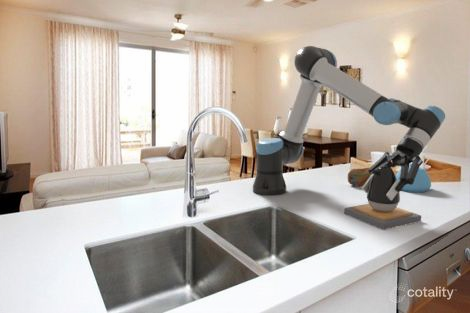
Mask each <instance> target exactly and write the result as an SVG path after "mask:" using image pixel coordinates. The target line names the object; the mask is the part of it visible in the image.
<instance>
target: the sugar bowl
mask: <svg viewBox="0 0 470 313" xmlns="http://www.w3.org/2000/svg"><path fill="white" fill-rule="evenodd" d="M411 165H412V163H410V164H409V169H408V172H409V170H410V167H411ZM400 174H401V168H400V169H399V170H398V172H397V173H396V174H395V176H396V178H397V180H399V181H400V179H399V178H400ZM431 188H432V181H431V178H430V176H429V174H428V172H427V170H426V169H425V168H424V167H421V166H420V167H419V169H418V172H417V175H416V177H415V180H414V183H413V184H412V185H410V184H406V185H405V186H404V187H403V188H402V190H401V191H404V192H408V193H426V192H428V191H429V190H430V189H431Z"/></svg>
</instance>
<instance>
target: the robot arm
mask: <svg viewBox="0 0 470 313" xmlns="http://www.w3.org/2000/svg"><path fill="white" fill-rule="evenodd" d="M337 61H338V60H337V57H336V56H335V54H334V52H332V51H330V50H328V49H326V48H323V47H322V48H321V47H316V46H313V45H307V46H303V47H302V48H300V49H299V50H298V51H297V53H296V54H295V57H294V66H295V69H296V71H297V72H298V73H299V74H300V75H299V77H300V80H301V83H300V86H299V89H298V92H297V94H296V97H295V100H294V103H293V105H292V109H291V111H290V114H289V117H288V119H287V122H286V124H285V128H284V130H283V131H280V133H279V135H278V137H269V138H263V139H260V140H259V141H258V142H257V143H256V149H255V150H256V152H255V153H256V175H255V178H254V181H253V183H252V192H253V193H256V194H257V195H266V196H276V195H277V196H278V195H283V194H285V193H286V192H287V184H286V181H285V178H284V175H283V172H284V171H283V169H284V168H283V167H284V165H285V166H286V165H288V164H289V165H290V164H293V163H296V162H297V161H299V160H300V159H301V158H302V156H303V154H304V152H305V151H304V150H305V149H304V146H303V145H304V138H303V136H304V132H305V129H306V127H307V124H308V122H309V120H310V116H311V114H312V112H313V108H314V106H315V103H316V101H317V98H318V96H319V93H320V91H321V88H322V87H324V86H325V87H327V88H328V89H330V90H331V91H333V92H334V93H336V94H337V95H338V96H340V97H341V98H344V99H345V100H346V101H348V102H350V103H351V104H352V105H355V106H356V107H357V108H359V109H361V110H363V111H364V112H366V113H367V114H369V115H370V116H371V117H372V118H373V119H374V120H375V122H376V123H378V124H379V125H383V126H391V125H395V124H398V125H402V126H403V127H406V128H409V129H408V130H407V132H406V133H405V134H404V135H403V136H402V139H401V140H400V141H399V142H398V144H397V145H396V149H395V151H393V152H392V153H390V152H389V151H385V152H384V153H383V155H382V156H381V157H380V158H379V159H378V160H377V161H376V162H375V163H374V164H372V165H371V166H370V167H368V168H369V169H368V172H369V173H370V176H369V177H368V178H367V180H366V183H365V184H364V185H363V186H361V189H362V190H363V192H364V193H366V194H367V192H368V187H369V184H370V181H371V179H372V176H373V174H374V173H373V172H372V171H373V170H377V169H378V168H379V167H381V166H388V167H390V168H391V169H392V168H395V167H400V169H401V174H400V178H399V179H400V181H399V180H396V182H395V183H394V184H393V186H392V187H391V189H390V190H389V191H388V193H387V194H386V196H387V197H388V198H389V200H391V201H392V200H393V198H394V197H395V195H396V194H397V193H398V192H399V193H401V191H403V190H402V188H403V187H404V186H405V185H406V184H410V185H412V184H413V183H414V180H415V177H416V175H417V172H418V169H419V167H421V165H423V163H424V161H423V159H422V158H421V157H420V155H421V154H422V152H423V150H424V149H425V148H426V146H427V145H428V144H429V142H430V141H431V139H432V138H433V137H434V135H435V134H436V132H437V131H438V130H439V129H440V128H441V126H442V124H443V122H444V121H445V120H446V113H445V112H444V110H443V109H441V108H440V107H438V106H437V105H426V107H424V108H419V107H416V106H413V105H412V104H408V103H407V102H404V101H401V100H400V99H396V98H392V97H390V98H388V97H386V96H384V95H382V94H381V93H379V92H377V91H376V90H374V89H373V88H371V87H369V86H367V84H364V83H363V82H362V81H359V80H358V79H355V77H353V76H351V75H349V74H347V73H346V72H344V71H343V70H341V69H339V68H337V66H338V62H337ZM410 164H412V165H411V167H410V170H409V172H408V169H409V166H410Z"/></svg>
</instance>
